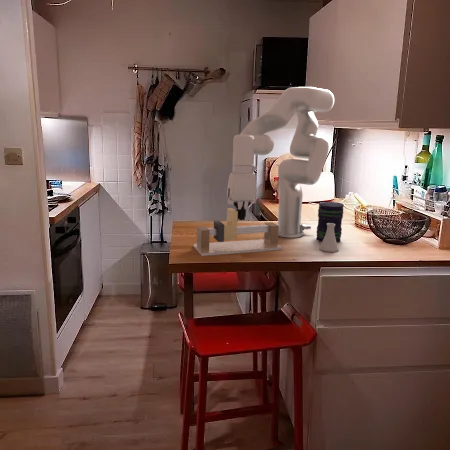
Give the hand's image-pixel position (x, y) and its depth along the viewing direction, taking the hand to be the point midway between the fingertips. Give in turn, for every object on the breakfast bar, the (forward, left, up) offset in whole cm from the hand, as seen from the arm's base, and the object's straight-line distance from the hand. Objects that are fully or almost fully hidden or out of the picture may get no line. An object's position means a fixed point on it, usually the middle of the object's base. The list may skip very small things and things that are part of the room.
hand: (241, 219), depth 163 cm
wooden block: (+5, 0, -7) cm, 9 cm away
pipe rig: (+1, 0, -11) cm, 11 cm away
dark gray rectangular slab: (+9, 0, -7) cm, 11 cm away
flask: (-32, +10, -11) cm, 35 cm away
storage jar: (-39, -2, -11) cm, 41 cm away
